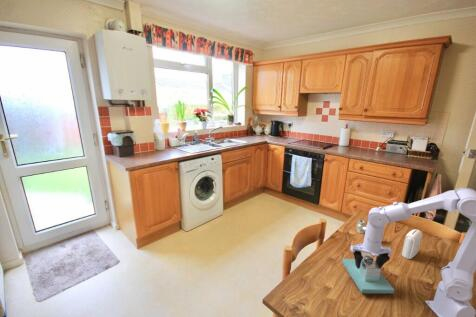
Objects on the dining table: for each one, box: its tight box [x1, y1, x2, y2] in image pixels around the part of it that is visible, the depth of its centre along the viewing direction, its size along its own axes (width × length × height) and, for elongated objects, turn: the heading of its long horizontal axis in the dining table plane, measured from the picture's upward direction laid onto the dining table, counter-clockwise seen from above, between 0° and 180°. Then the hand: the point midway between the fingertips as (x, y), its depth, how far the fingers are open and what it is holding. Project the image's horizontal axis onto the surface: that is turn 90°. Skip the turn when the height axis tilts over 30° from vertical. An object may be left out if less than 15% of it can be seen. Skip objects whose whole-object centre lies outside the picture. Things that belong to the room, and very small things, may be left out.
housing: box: [357, 252, 382, 282], centre depth 87 cm, size 5×9×7 cm, turn 175°
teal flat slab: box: [341, 258, 395, 295], centre depth 88 cm, size 16×12×3 cm
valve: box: [356, 219, 366, 234], centre depth 117 cm, size 7×7×12 cm
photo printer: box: [401, 229, 423, 260], centre depth 102 cm, size 10×4×12 cm, turn 123°
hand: (367, 267), depth 87 cm, fingers open, 7 cm apart
